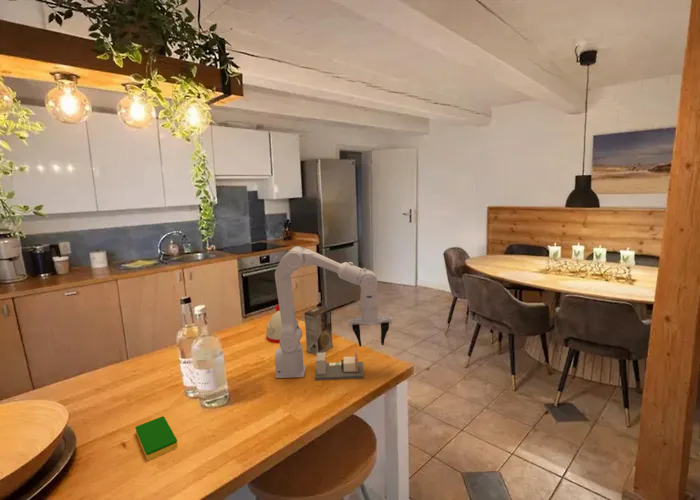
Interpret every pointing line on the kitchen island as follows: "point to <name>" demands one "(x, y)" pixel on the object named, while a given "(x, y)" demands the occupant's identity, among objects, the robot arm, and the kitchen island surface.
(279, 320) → the kitchen timer
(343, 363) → the cream and red block
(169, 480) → the kitchen island surface
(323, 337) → the coffee box
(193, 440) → the kitchen island surface
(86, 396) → the kitchen island surface
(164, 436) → the dish sponge
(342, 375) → the board
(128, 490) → the kitchen island surface
